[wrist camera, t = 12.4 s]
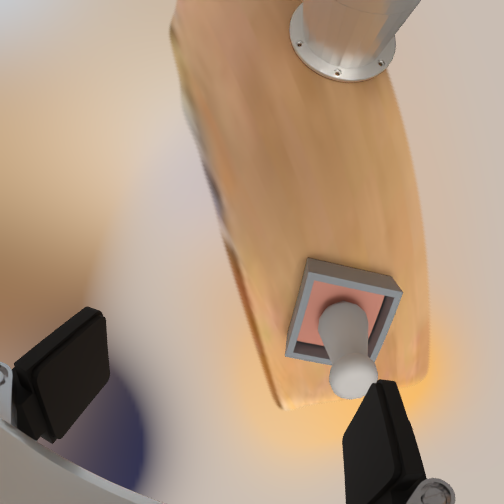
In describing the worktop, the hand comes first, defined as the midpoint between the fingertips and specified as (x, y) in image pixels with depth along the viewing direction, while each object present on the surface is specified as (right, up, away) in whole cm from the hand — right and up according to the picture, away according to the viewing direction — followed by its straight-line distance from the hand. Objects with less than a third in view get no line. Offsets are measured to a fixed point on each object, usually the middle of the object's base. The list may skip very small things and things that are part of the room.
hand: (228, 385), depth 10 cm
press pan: (+11, -3, +27) cm, 30 cm away
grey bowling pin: (+11, -3, +26) cm, 29 cm away
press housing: (+12, -3, +29) cm, 31 cm away
